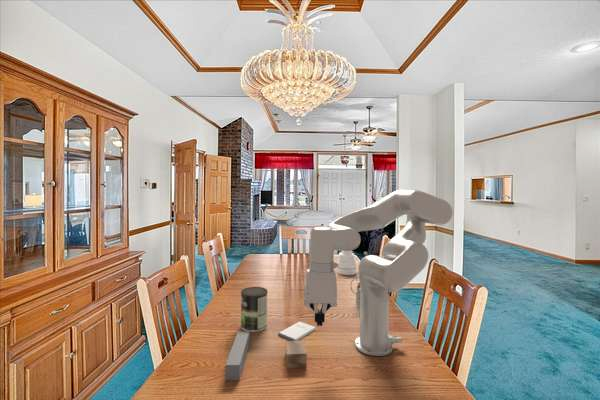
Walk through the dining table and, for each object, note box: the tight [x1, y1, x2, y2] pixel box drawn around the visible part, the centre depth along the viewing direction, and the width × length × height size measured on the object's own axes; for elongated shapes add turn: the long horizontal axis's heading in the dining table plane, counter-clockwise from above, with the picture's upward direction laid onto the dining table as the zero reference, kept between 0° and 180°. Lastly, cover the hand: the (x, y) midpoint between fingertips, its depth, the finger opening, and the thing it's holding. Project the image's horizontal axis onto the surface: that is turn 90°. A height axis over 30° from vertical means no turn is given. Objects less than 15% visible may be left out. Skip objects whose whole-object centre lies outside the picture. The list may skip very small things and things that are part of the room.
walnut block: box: [285, 340, 308, 369], centre depth 98 cm, size 6×8×4 cm
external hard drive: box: [278, 321, 317, 341], centre depth 117 cm, size 2×8×12 cm
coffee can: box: [240, 286, 269, 333], centre depth 121 cm, size 10×10×14 cm
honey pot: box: [336, 250, 358, 276], centre depth 200 cm, size 13×13×18 cm
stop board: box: [224, 331, 250, 381], centre depth 98 cm, size 4×20×4 cm, turn 1°
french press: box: [350, 251, 369, 309], centre depth 144 cm, size 10×12×25 cm
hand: (319, 324), depth 98 cm, fingers closed
